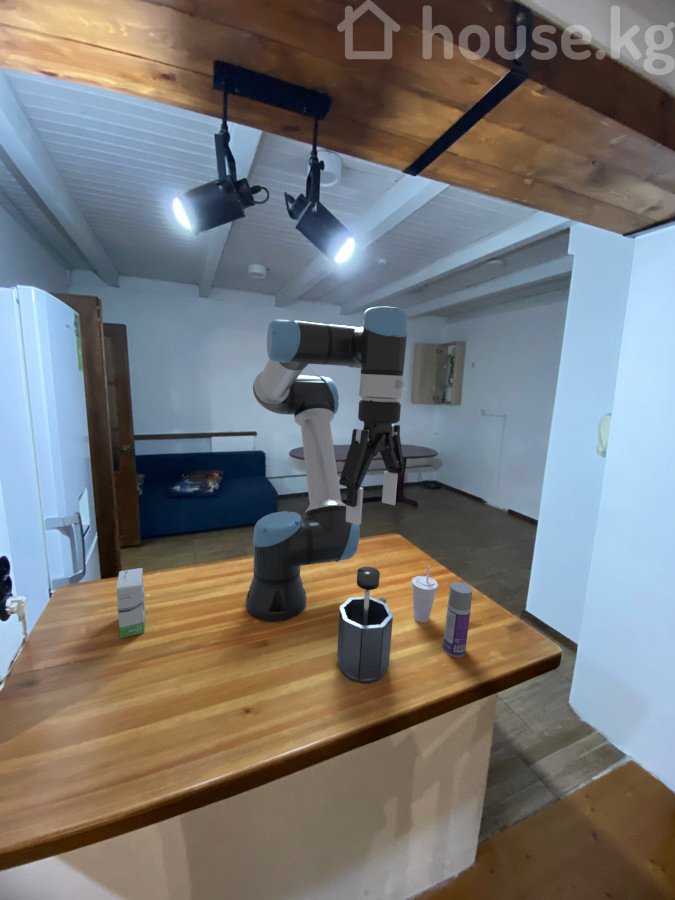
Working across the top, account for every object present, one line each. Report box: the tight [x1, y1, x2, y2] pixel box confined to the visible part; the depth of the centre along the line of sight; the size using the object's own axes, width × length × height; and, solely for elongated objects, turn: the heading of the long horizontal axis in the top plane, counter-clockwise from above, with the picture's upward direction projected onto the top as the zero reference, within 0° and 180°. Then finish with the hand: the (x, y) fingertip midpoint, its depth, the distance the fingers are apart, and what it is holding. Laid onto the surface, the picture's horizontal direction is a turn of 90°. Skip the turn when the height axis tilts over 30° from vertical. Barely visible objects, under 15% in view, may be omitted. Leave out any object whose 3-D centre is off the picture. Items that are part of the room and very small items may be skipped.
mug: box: [336, 596, 394, 685], centre depth 75 cm, size 10×13×12 cm
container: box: [442, 581, 473, 658], centre depth 79 cm, size 5×5×15 cm
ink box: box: [115, 567, 146, 639], centre depth 82 cm, size 9×5×12 cm, turn 27°
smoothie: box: [410, 565, 439, 624], centre depth 89 cm, size 6×6×14 cm
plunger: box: [356, 566, 381, 626], centre depth 73 cm, size 7×7×17 cm
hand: (372, 512), depth 69 cm, fingers open, 13 cm apart
